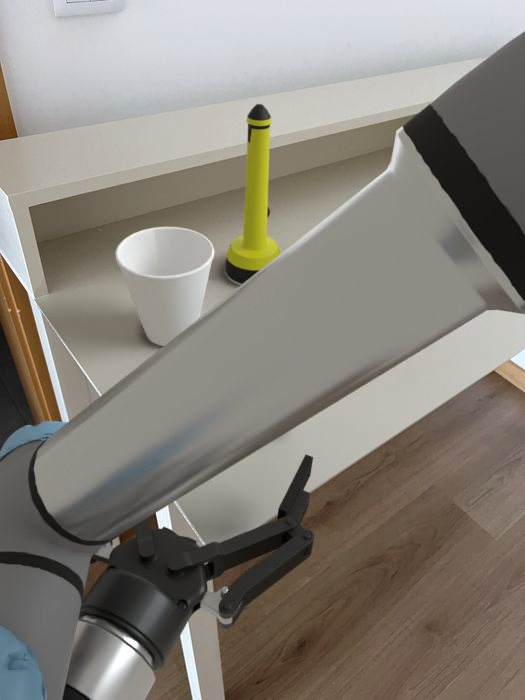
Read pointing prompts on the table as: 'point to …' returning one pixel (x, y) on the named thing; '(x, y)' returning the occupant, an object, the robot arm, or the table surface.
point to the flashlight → (254, 205)
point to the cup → (166, 278)
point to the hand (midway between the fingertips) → (242, 440)
